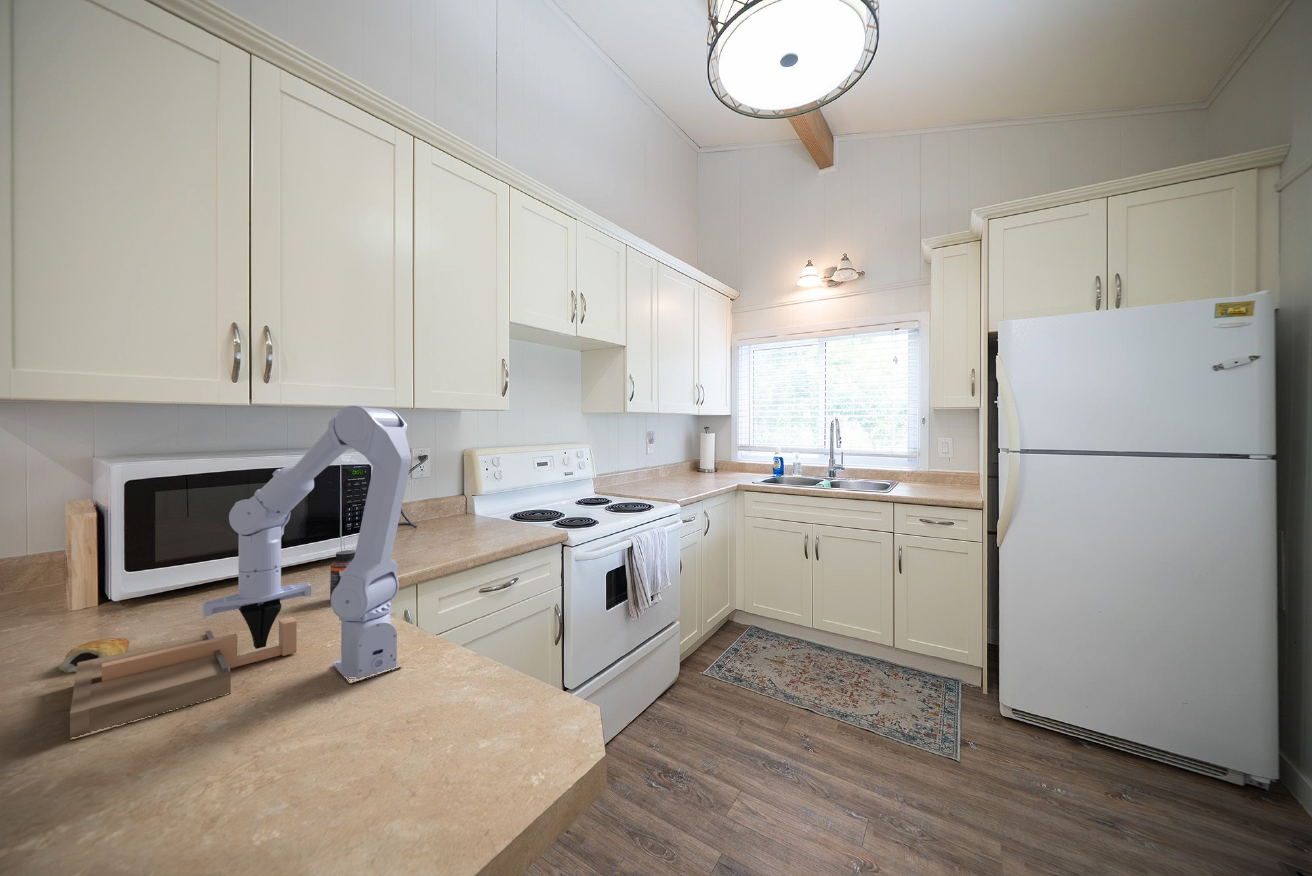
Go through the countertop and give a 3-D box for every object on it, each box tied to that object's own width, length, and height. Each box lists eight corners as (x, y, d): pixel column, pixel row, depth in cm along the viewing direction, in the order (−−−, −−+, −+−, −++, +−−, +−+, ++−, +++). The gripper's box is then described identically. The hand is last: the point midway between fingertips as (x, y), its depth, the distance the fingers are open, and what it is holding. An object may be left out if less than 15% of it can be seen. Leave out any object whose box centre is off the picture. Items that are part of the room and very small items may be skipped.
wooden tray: (230, 693, 74) (230, 666, 74) (69, 740, 62) (69, 709, 62) (212, 652, 88) (212, 629, 88) (77, 684, 76) (77, 658, 76)
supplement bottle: (349, 603, 113) (349, 555, 113) (323, 603, 113) (324, 554, 113) (365, 595, 119) (365, 549, 119) (341, 594, 119) (341, 548, 119)
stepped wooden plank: (296, 652, 87) (296, 620, 87) (101, 703, 70) (101, 665, 70) (292, 647, 89) (292, 616, 89) (102, 696, 72) (102, 658, 72)
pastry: (91, 652, 88) (92, 631, 88) (142, 646, 91) (142, 625, 90) (54, 676, 79) (55, 652, 79) (111, 668, 82) (112, 645, 82)
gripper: (304, 556, 93) (304, 627, 93) (200, 571, 82) (199, 652, 82) (314, 563, 88) (314, 638, 88) (205, 580, 77) (205, 666, 77)
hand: (259, 646), depth 85 cm, fingers closed
